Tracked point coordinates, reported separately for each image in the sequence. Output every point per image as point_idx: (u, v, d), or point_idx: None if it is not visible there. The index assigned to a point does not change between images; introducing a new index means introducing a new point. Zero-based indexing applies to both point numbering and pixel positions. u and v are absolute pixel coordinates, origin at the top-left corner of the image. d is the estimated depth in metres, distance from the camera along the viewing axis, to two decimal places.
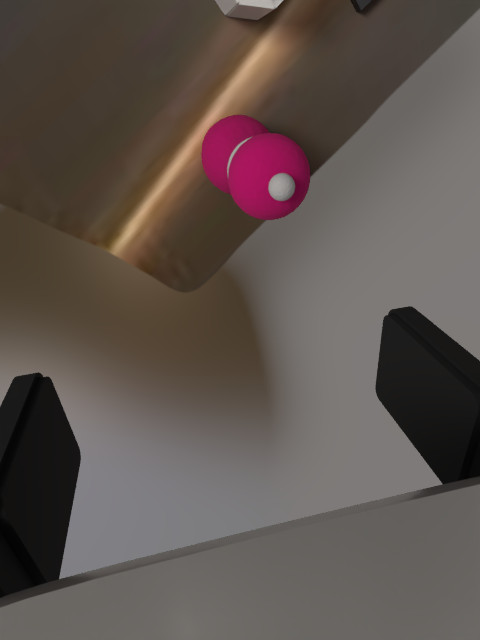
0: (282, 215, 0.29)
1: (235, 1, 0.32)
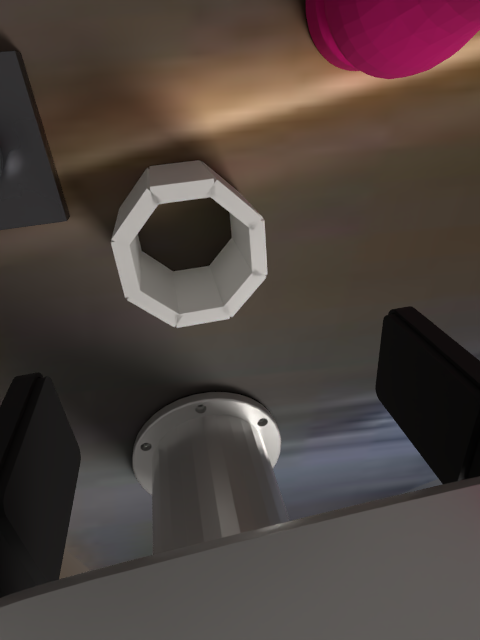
0: None
1: None
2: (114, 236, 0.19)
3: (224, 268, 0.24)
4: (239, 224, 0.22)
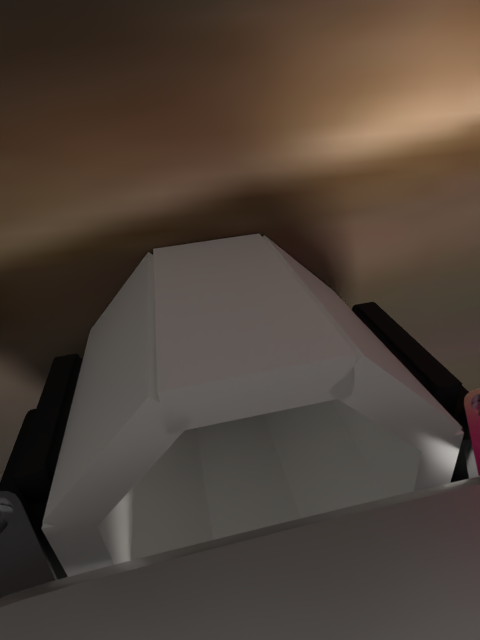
0: None
1: None
2: (51, 514, 0.06)
3: (305, 448, 0.12)
4: None
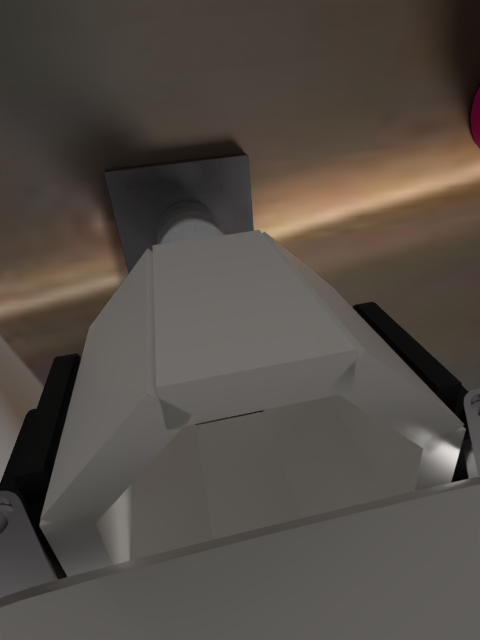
0: None
1: None
2: (49, 511, 0.06)
3: (305, 446, 0.12)
4: None
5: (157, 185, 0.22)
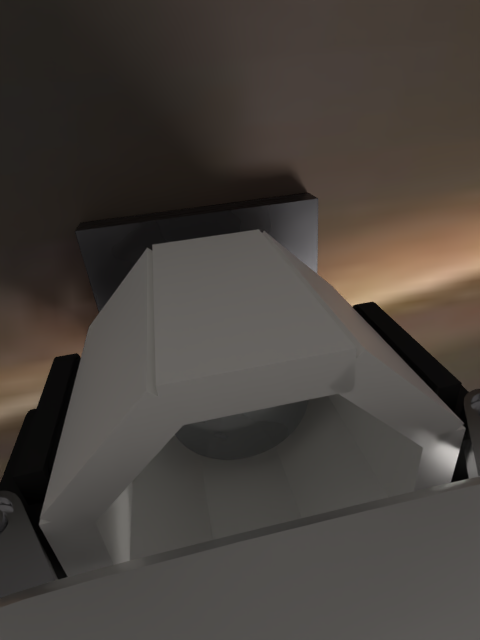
0: None
1: None
2: (49, 510, 0.06)
3: (305, 446, 0.12)
4: None
5: None
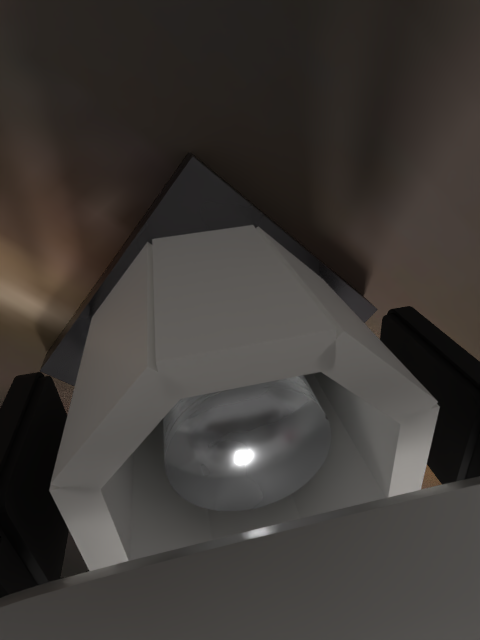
0: None
1: None
2: (58, 477, 0.07)
3: None
4: None
5: None
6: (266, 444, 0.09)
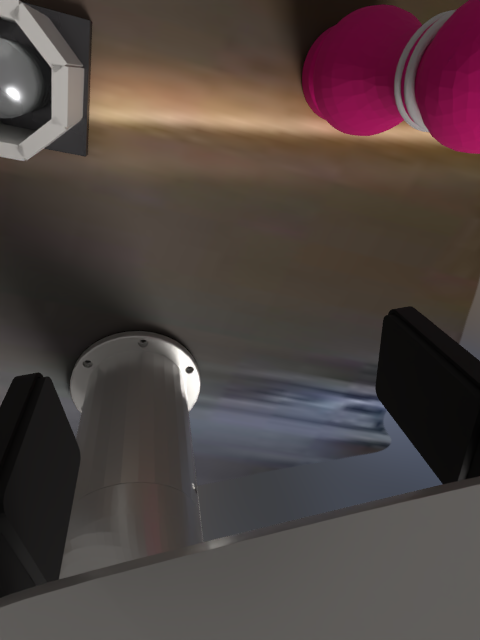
0: None
1: (26, 7, 0.20)
2: None
3: None
4: None
5: None
6: None
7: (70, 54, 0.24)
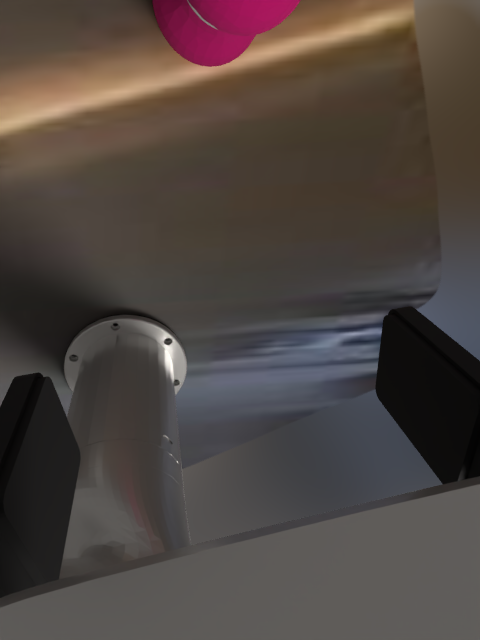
0: None
1: None
2: None
3: None
4: None
5: None
6: None
7: None
